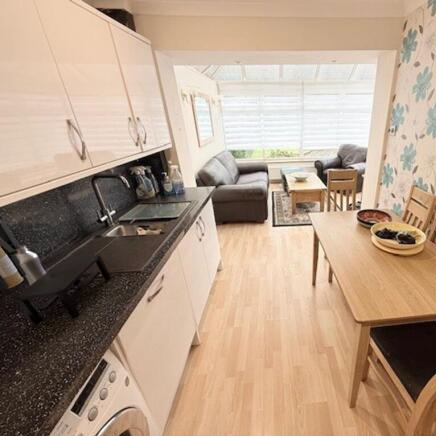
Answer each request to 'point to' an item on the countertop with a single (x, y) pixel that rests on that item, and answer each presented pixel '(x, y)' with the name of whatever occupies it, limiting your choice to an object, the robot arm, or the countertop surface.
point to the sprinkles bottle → (8, 271)
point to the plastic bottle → (30, 264)
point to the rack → (61, 285)
